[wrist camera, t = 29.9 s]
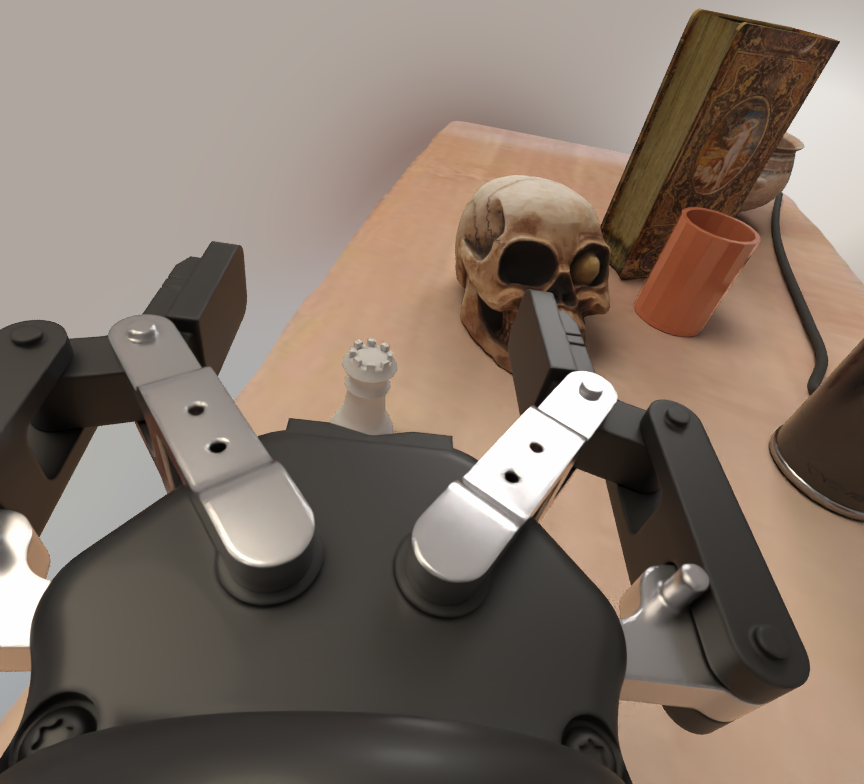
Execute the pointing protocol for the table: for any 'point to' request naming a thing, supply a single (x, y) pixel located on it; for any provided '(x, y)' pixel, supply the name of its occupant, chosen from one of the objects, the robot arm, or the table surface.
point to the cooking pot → (774, 173)
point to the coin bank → (528, 256)
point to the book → (710, 128)
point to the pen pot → (694, 270)
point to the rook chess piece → (367, 388)
